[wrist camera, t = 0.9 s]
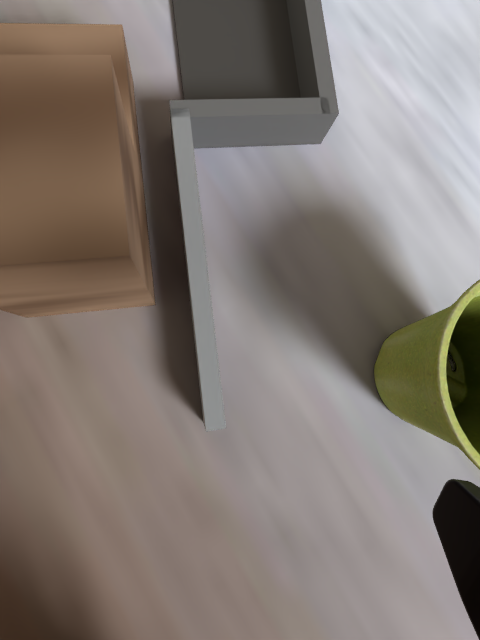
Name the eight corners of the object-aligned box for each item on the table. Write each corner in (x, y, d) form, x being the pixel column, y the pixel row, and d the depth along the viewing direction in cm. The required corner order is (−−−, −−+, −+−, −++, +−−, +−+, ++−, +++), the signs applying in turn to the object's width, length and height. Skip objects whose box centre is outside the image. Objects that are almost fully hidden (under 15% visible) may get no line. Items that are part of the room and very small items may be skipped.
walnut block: (155, 305, 22) (129, 255, 12) (26, 317, 21) (-118, 274, 11) (133, 82, 23) (93, -126, 13) (11, 83, 22) (-129, -141, 12)
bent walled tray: (363, 424, 23) (389, 433, 20) (-218, 516, 18) (-296, 545, 15) (283, -98, 26) (295, -157, 23) (-217, -131, 22) (-280, -209, 19)
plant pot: (322, 330, 23) (402, 310, 15) (448, 278, 25) (587, 232, 16) (383, 476, 23) (502, 543, 14) (508, 412, 24) (683, 438, 16)
